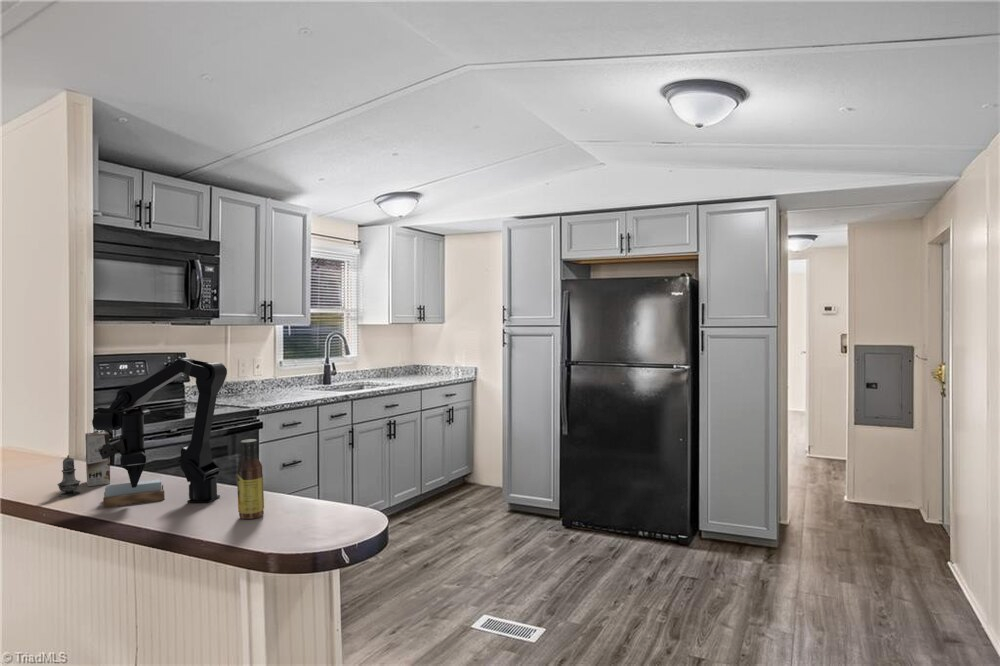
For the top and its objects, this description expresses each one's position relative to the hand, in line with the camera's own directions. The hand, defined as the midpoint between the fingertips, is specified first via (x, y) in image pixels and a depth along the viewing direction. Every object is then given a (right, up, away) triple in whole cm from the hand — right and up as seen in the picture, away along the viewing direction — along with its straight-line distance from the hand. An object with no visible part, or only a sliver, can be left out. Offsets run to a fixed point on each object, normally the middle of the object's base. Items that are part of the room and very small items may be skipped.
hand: (133, 484), depth 186 cm
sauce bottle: (+42, -4, -20) cm, 46 cm away
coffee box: (-25, -5, +23) cm, 34 cm away
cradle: (0, -5, 0) cm, 5 cm away
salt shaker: (-24, -5, +8) cm, 26 cm away
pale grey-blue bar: (0, -5, 0) cm, 5 cm away
